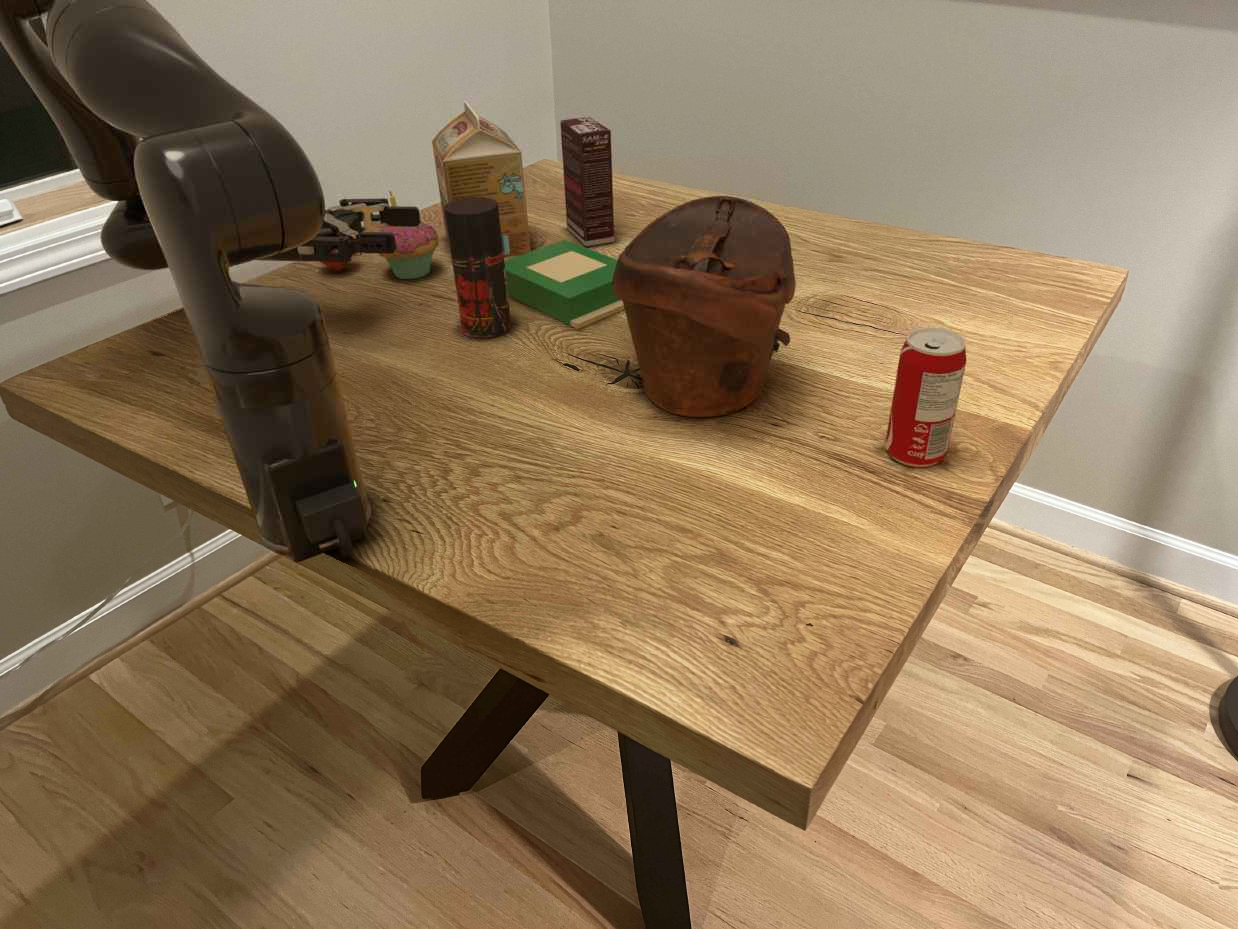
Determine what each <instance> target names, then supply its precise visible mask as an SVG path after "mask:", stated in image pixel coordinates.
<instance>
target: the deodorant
mask: <svg viewBox="0 0 1238 929" xmlns="http://www.w3.org/2000/svg"><path fill="white" fill-rule="evenodd" d="M444 209H445V216H446V223H447V230H448V237H449V243H448V245H449V244H450V245H449V248H450V256H451V257H450V258H451V264H452V270H453V278H454V285H455V291H456V298H457V305H458V306H457V307H458V311H459V318H460V319H459V320H460V324H461V325H460V326H461V331H462V334H463V335H464V336H466V337H469V338H471V339H479V340H482V339H483V340H487V339H494V338H499V337H501V336H503V335H505V334H507V333H508V332H509V331H510V330H511V328H512V319H511V311H510V309H511V308H510V300H509V296H508V290H507V281H506V272H505V263H504V261H505V256H504V254H503V245H502V236H501V227H500V218H499V209H498V203H497V201H496V200H494V199H491V198H486V197H468V198H461V199H457V200H454V201H451V202H449V203H447V204H446V205H445V207H444Z"/></svg>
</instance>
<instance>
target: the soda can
mask: <svg viewBox="0 0 1238 929" xmlns="http://www.w3.org/2000/svg"><path fill="white" fill-rule="evenodd" d="M966 348H967V343H966V339H965V338H964V337H963V336H962V335H961V334H959V333H958V332H956V331H953V330H952V329H947V328H944V327H938V326H937V327H935V326H926V327H920V328H915V329H913V330H911V331H910V332H908V333H907V334H906V338H905V340H904V343H903V345H902V347H901V349H900V352H899V358H898V363H897V370H896V376H895V382H894V387H893V394H892V400H891V406H890V412H889V419H888V425H887V431H886V437H885V443H884V446H885V450H886V451H887V453H888V454H889V455H890V456H891V458H892V459H893V460H894V461H896V462H898V463H900V464H902V465H905V466H909V467H914V468H925V467H926V468H928V467H931V466H933V465H937V464H938V463H939V462H941V461H943V460H944V458H946V456H947V455H948V450H949V446H950V442H951V437H952V432H953V426H954V422H955V417H956V412H957V409H958V408H957V407H958V402H959V399H960V394H961V388H962V384H963V380H964V375H965V370H966V365H967V350H966Z"/></svg>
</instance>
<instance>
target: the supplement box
mask: <svg viewBox="0 0 1238 929" xmlns="http://www.w3.org/2000/svg"><path fill="white" fill-rule="evenodd" d="M559 124H560V136H561V137H560V138H561V139H560V140H561V152H562V154H561V155H562V169H563V182H564V186H563V187H564V199H565V200H564V201H565V215H566V229H567V231H569V232H570V234H572V235H573V236H574V237H575V238H576V239H577V240H578V241H579V242H580V243H581V244H582V245H583V246H584V247H593V246H600V245H606V244H611V243H614V242H615V223H614V222H615V221H614V219H615V218H614V217H615V216H614V192H613V188H614V186H613V159H612V158H613V156H612V155H613V154H612V131H611V129H609V128H608V127H606V126H605V125H603V124H601V123H600V122H598V121H597V120H595V119H593V118H592V117H590V116H586V117H577V118H576V117H575V118H568V119H561V120H560V123H559Z"/></svg>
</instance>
